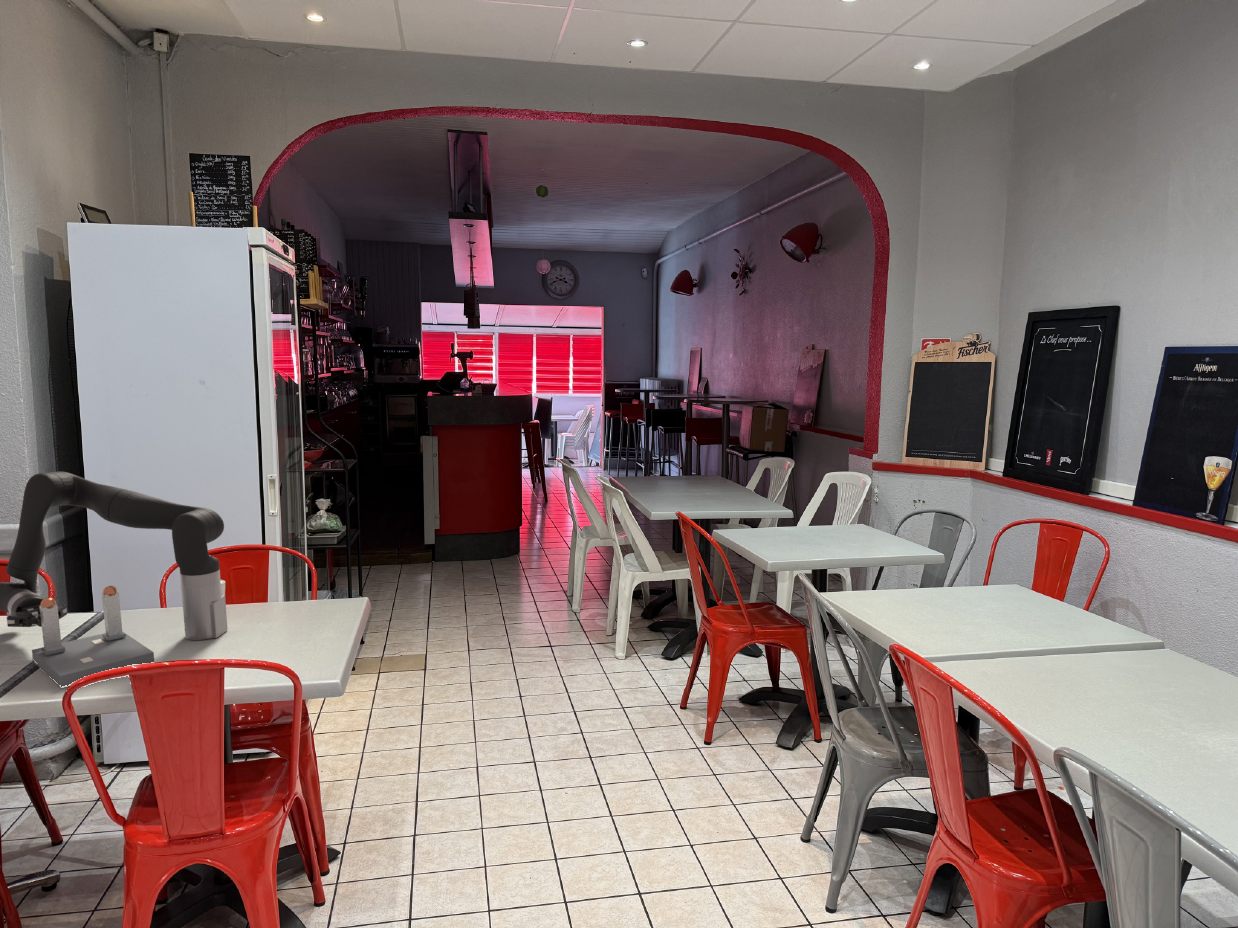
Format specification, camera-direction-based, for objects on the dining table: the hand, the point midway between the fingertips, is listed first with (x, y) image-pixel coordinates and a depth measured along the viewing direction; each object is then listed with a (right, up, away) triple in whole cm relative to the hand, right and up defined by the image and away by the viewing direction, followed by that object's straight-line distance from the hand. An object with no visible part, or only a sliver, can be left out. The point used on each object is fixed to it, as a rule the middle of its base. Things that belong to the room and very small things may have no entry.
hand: (47, 623), depth 196 cm
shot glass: (+18, -4, +44) cm, 48 cm away
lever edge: (+3, -6, -1) cm, 7 cm away
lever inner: (+11, -5, +8) cm, 15 cm away
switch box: (+11, -10, 0) cm, 15 cm away
